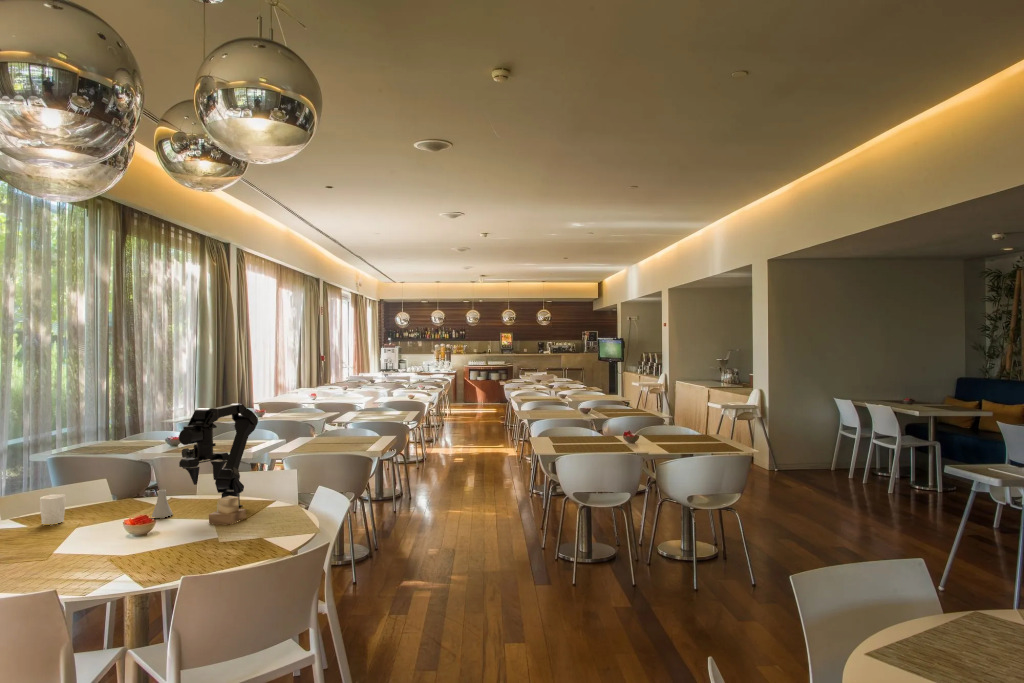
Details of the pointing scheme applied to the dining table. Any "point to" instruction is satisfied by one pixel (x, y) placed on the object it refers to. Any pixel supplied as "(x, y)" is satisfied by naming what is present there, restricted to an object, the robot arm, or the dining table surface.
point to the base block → (227, 517)
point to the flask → (162, 506)
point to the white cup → (52, 508)
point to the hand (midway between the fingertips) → (205, 482)
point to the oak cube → (228, 504)
